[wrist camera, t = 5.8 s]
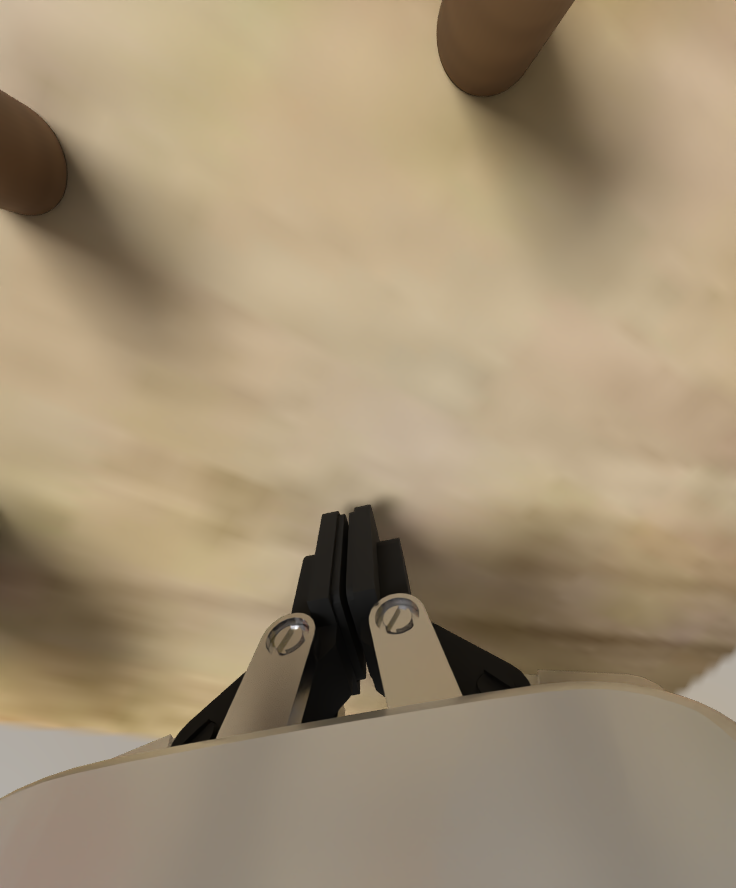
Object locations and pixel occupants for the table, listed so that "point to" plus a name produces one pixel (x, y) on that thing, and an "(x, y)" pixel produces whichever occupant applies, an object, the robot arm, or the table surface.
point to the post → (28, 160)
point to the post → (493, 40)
